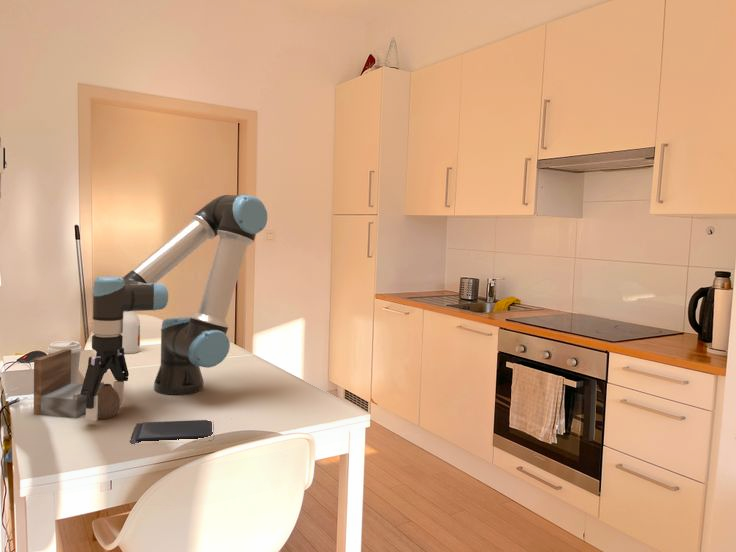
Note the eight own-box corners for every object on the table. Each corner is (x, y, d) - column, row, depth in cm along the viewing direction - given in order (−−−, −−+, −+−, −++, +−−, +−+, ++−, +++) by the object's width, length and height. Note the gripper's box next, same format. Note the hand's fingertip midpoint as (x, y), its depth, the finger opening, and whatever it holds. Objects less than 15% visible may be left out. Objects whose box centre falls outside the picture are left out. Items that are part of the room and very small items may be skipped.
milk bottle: (134, 354, 225) (135, 304, 223) (115, 353, 225) (116, 303, 223) (142, 350, 232) (143, 301, 231) (123, 349, 233) (124, 300, 231)
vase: (101, 422, 150) (102, 389, 150) (86, 416, 154) (86, 384, 153) (125, 416, 156) (125, 384, 155) (109, 410, 160) (110, 379, 159)
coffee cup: (66, 398, 168) (67, 348, 166) (38, 394, 169) (38, 345, 168) (88, 389, 177) (89, 342, 176) (61, 386, 179) (62, 339, 178)
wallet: (127, 440, 137) (136, 418, 151) (127, 447, 137) (136, 425, 151) (214, 437, 142) (214, 416, 156) (213, 444, 142) (214, 423, 156)
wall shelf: (103, 402, 166) (104, 351, 165) (76, 417, 152) (77, 362, 151) (63, 399, 167) (64, 348, 165) (33, 414, 153) (34, 359, 152)
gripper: (117, 325, 166) (115, 397, 167) (66, 342, 141) (64, 425, 143) (142, 327, 165) (140, 399, 167) (95, 344, 140) (93, 428, 142)
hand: (105, 411), depth 155 cm, fingers open, 13 cm apart
